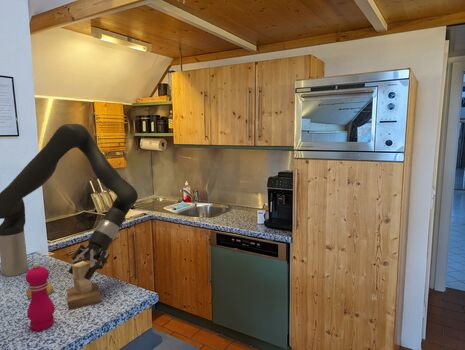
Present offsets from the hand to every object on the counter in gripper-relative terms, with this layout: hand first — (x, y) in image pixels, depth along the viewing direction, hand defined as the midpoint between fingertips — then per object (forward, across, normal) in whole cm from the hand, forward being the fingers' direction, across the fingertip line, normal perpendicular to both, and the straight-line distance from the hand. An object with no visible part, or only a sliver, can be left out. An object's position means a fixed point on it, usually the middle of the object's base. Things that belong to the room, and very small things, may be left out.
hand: (78, 276), depth 114 cm
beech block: (+3, 0, +5) cm, 6 cm away
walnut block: (+6, 0, +7) cm, 9 cm away
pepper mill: (+17, +2, -4) cm, 17 cm away
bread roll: (+9, -18, +4) cm, 21 cm away
